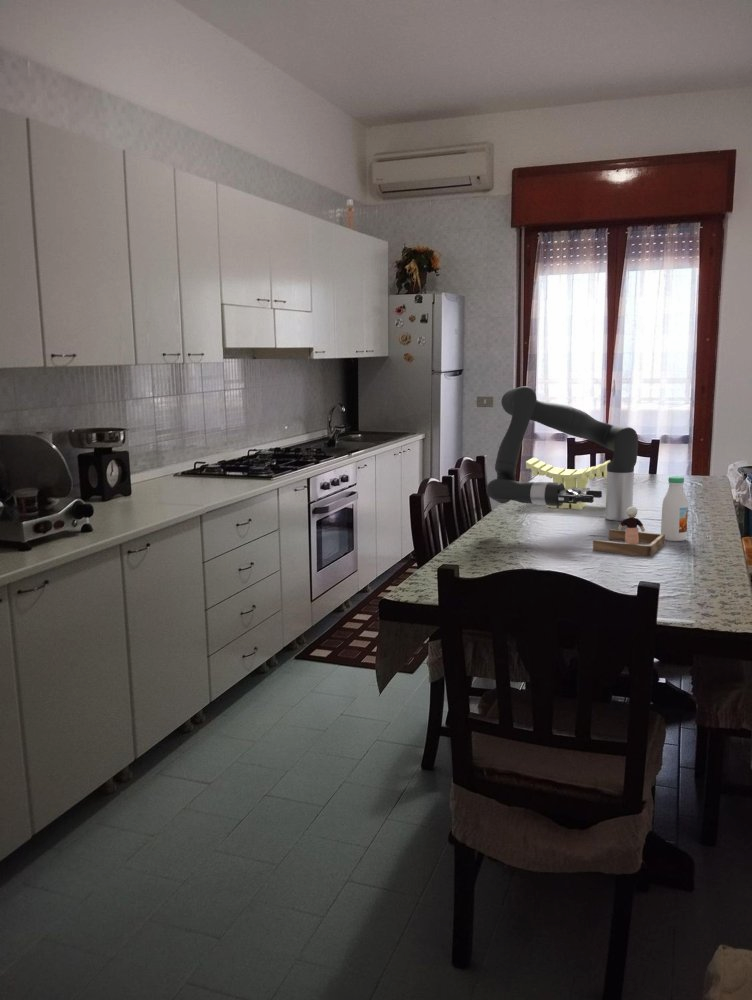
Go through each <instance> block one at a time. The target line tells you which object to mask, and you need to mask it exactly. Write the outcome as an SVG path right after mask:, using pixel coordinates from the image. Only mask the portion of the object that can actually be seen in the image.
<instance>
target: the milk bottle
mask: <svg viewBox="0 0 752 1000" xmlns="http://www.w3.org/2000/svg"><path fill="white" fill-rule="evenodd" d="M667 480H668V488H667V492H666V493H665V495H664V497H663V500H662V505H661V506H662V507H661V522H660V525H661V526H660V534H665V541H668V542H682V541H686V540H687V536H688V534H687V533H688V532H687V531H688V514H689V513H688V511H689V508H688V507H689V502H688V499H687V495H686V493H685V491H684V482H685V478H684V476H678V475H677V476H674V475H673V476H669V477H668V479H667Z"/></svg>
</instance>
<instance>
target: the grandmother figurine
mask: <svg viewBox="0 0 752 1000" xmlns="http://www.w3.org/2000/svg"><path fill="white" fill-rule="evenodd" d="M626 514H627V515H628V516H629V517H630V518H626V519H624V520H623V521H620V522H619V525H618V527H617V530H622V528H623V527H625V530H624V531H625V540H624V543H629V544H638V545H640V544H639V543H640V542H639V538H638V532H639V528H640V532H645V531H646V530H645V529H646V528H645V527H644V524H643V523H642V521H641V520H640V519H639V518H637V515H638V509H637V507H636V506H634V505H633V506H631V507H629V508H628V509H627V510H626ZM638 527H639V528H638Z"/></svg>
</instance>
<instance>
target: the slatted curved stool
mask: <svg viewBox="0 0 752 1000" xmlns="http://www.w3.org/2000/svg"><path fill="white" fill-rule="evenodd" d="M609 462H611V459H609V460H605V462H604V463H603V462H602V463H600V464H597V465H594V466H590V467H587V468H579V469H576V468H575V469H570V468H567V469H566V468H563V467H562V468H561V467H558V466H554V465H552V464H547V462H544V461H542V460H541V461H540V459H539V458H536V457H531V458H529V459H528V460H526V461H525V469H527V470H531V476H532V477H536V476H538V475H539V476H545V477H548V478H549V479H552V482H553V483H562V484H563V485H564V488H565V490H567V489H569V488H573V487H574V488H587V487H588V484H589V481H591V480H592V479H594V478H597V479H598V478H600V479H601V478H603V479H605V480H607V464H608V463H609ZM583 494H586V492H583ZM586 505H587V503H586V502H581V503H577V504H571V503H563V504H562V505H561V506H547V507H551V508H550V509H563V508H568V509H567V510H569V509H571V510H582V509H583V508H584V507H585V506H586Z"/></svg>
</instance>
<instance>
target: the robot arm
mask: <svg viewBox="0 0 752 1000" xmlns="http://www.w3.org/2000/svg"><path fill="white" fill-rule="evenodd" d="M500 404H501V406H502V408H503V410H504V412H506V413H507V414H508V415H510V416H511V420H510V422H509V426H508V428H507V431H506V432H505V434H504V437H503V439H502V441H501V443H500V445H499V448H498V450H497V455H496V459H495V463H494V470H495V472H496V478H495V479H492V480H491V481H489V482H488V484H487V485H486V487H485V488H486V494H487V495H488V497H489V498H490V499H492V500H493V501H496V502H497V503H499V504H506V503H509V502H510V501H513V502H514V501H515V502H518V503H521V504H531V505H533V504H534V505H539V506H547V507H548V506H561V505H562V504H563V503H571V504H577V503H581V502H586V504H587V503H589V504H592V503H594V501H595V499H594V498H596V499H597V498H598V499H600V498H603V491H602V490H596V489H593V490H592V489H591V488H589V487H586V488H577V487H576V488H574V487H573V488H569V489H567V490H565V488H564V485H563V484H562V483H553V481H552V482H551V481H549V482H548V481H538V482H535V481H534V482H533V481H516V469H517V465H518V462H519V456H520V452H521V449H522V445H523V441H524V437H525V434H526V432H527V429H528V426H529V423H530V421H533V422H536V423H539V424H540V425H543V426H546V427H548V428H551V429H554V430H555V431H559V432H561V433H563V434H566V435H569V436H571V437H572V436H573V437H575V438H580V439H585V440H588V441H592V442H594V443H596V444H598V445H600V446H602V447H604V448H605V449H607V450H610V451H611V452H613V457H612V460H610V462H609V463H608V464H607V479H606V483H605V484H606V485H605V486H606V487H605V488H606V490H605V492H606V493H605V515H604V516H605V519H606V520H610V521H620V522H622V521H623V520H624V519H626V518H630V517H629V516H628V515H627V514H626V510H627V509H628V508H629V507H631V506H633V507H634V500H633V499H634V479H635V478H634V476H635V475H634V473H635V466H636V463H637V460H638V448H639V437H638V436H639V435H638V434H637V431H636V430H635V428H633V427H629V426H626V425H625V426H623V425H616V424H610V423H607V422H602V421H599V420H597V419H596V418H594V417H593V416H591V415H589V414H588V413H587V412H585V411H583V410H581V409H579V408H575V407H573V406H569V405H566V404H561V403H556V402H555V403H554V402H544V401H541V400H537V394H536V392H535V391H534V389H532V387H530V386H525V385H524V386H519V387H515V388H513V389H510V390H508V391H506V392H504V394H503V396H502V397H501V403H500ZM583 492H585V494H583Z"/></svg>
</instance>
